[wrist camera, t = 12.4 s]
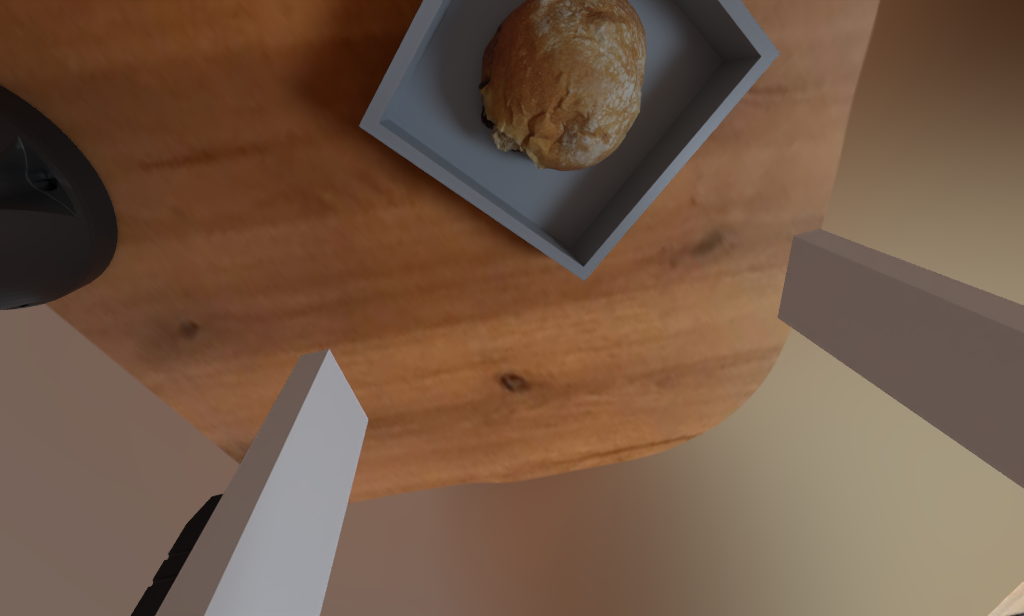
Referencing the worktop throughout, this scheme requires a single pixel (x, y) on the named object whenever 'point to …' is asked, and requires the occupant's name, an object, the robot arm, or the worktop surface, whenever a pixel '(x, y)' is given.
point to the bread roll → (564, 80)
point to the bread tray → (547, 192)
